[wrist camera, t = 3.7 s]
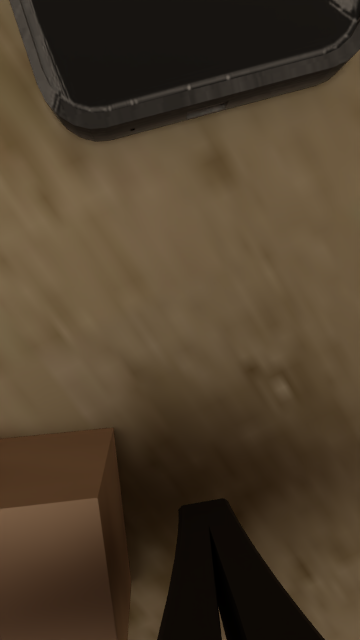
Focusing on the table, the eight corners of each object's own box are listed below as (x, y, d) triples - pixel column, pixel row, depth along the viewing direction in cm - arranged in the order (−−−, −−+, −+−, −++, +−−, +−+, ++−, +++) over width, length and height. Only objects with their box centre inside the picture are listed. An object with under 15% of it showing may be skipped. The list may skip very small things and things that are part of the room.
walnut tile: (131, 572, 11) (123, 691, 8) (-44, 596, 10) (-121, 731, 7) (114, 422, 9) (97, 497, 7) (-87, 442, 9) (-202, 532, 6)
